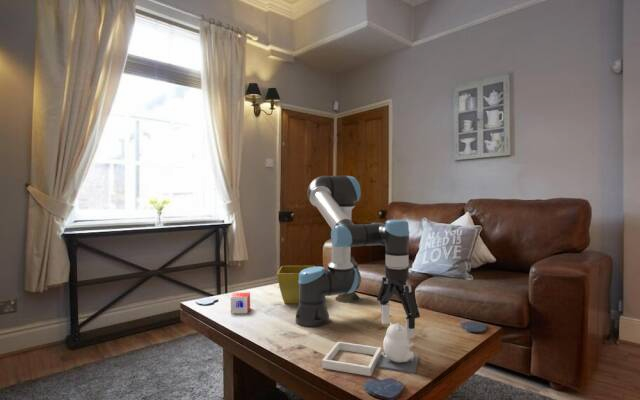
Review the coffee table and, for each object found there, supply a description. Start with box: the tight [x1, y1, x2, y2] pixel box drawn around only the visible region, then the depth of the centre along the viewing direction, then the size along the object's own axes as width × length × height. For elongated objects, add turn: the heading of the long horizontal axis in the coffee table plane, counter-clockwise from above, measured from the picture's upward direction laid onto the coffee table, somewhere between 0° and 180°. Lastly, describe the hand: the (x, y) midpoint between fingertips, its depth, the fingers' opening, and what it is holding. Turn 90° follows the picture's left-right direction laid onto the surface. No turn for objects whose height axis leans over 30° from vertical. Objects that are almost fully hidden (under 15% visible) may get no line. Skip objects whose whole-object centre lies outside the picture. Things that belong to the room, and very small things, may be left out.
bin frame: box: [321, 341, 382, 377], centre depth 121 cm, size 16×16×2 cm
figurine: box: [381, 321, 415, 363], centre depth 120 cm, size 10×10×12 cm
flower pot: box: [276, 265, 316, 304], centre depth 194 cm, size 19×19×17 cm
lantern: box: [334, 254, 362, 304], centre depth 195 cm, size 14×14×25 cm
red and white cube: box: [230, 292, 251, 314], centre depth 178 cm, size 8×8×8 cm
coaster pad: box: [375, 351, 420, 375], centre depth 120 cm, size 12×12×1 cm
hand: (396, 330), depth 120 cm, fingers open, 13 cm apart
